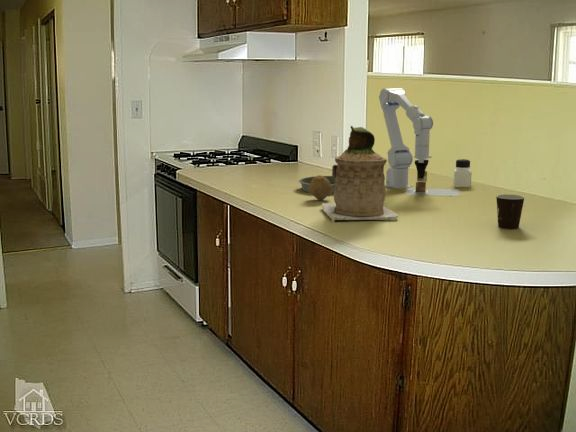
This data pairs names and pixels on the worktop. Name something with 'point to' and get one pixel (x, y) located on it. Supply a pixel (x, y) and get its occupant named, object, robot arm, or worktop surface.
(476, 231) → the worktop surface
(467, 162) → the medicine bottle
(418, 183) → the walnut block
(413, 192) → the grey flat slab
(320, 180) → the natural sponge
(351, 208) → the cookie jar
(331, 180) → the cake pan
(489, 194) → the worktop surface
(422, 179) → the maple block
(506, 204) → the coffee mug
